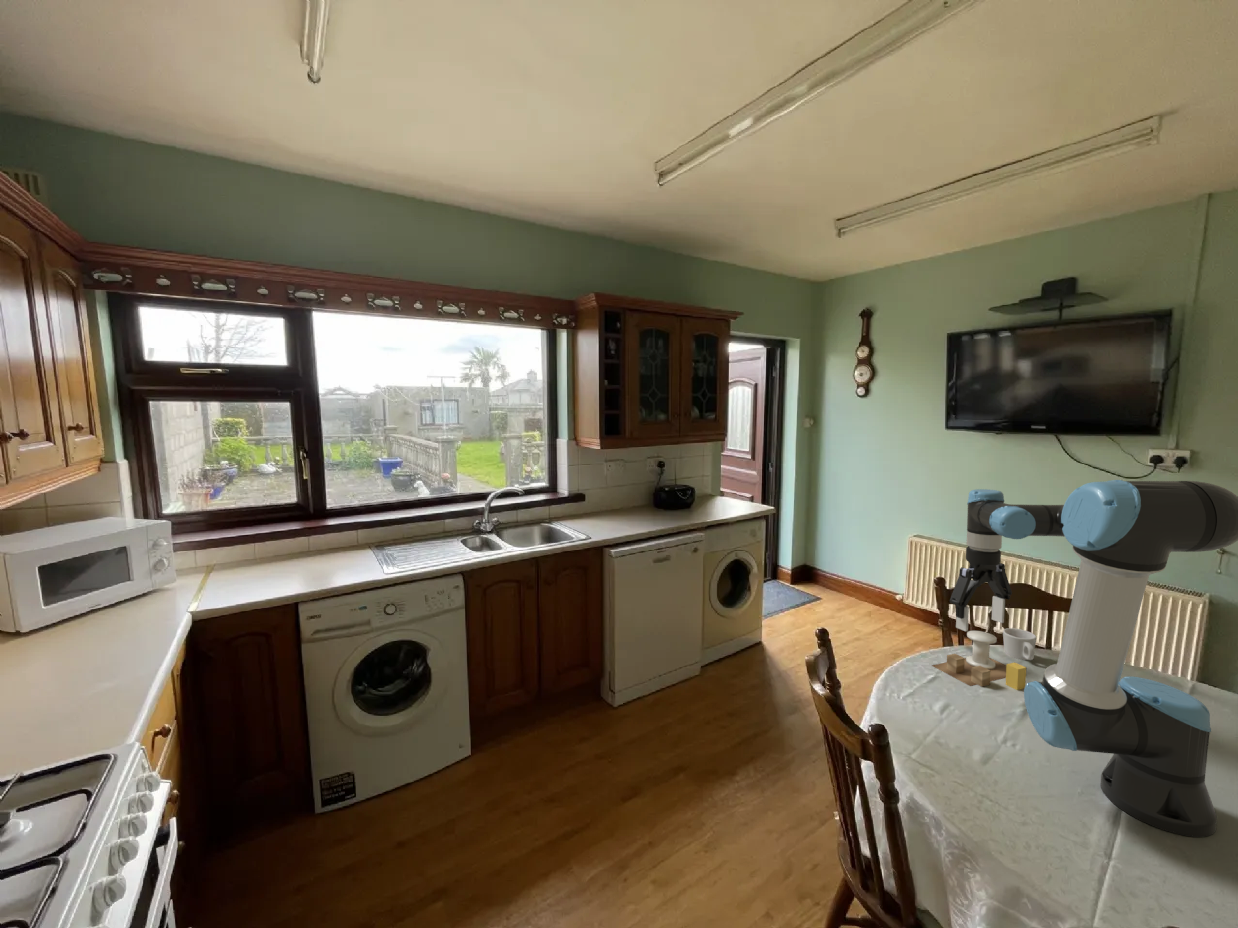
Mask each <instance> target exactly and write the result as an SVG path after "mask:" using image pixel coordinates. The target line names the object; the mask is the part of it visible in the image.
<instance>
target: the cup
mask: <svg viewBox="0 0 1238 928" xmlns="http://www.w3.org/2000/svg"><path fill="white" fill-rule="evenodd" d="M1002 637H1003V650H1004V654H1005V655H1006V656H1008V657H1010V658H1012V659H1016V660H1021V661H1033V659H1034V658H1035V648H1036V645H1037V644H1036V642H1037V636H1036V634H1035V633H1032V632H1030V631H1028V630H1024V629H1021V628H1014V627H1010V628H1004V629H1003V630H1002Z"/></svg>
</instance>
